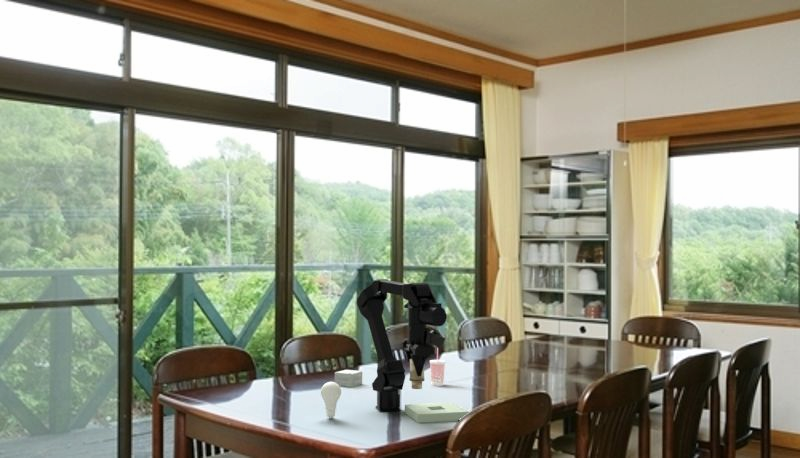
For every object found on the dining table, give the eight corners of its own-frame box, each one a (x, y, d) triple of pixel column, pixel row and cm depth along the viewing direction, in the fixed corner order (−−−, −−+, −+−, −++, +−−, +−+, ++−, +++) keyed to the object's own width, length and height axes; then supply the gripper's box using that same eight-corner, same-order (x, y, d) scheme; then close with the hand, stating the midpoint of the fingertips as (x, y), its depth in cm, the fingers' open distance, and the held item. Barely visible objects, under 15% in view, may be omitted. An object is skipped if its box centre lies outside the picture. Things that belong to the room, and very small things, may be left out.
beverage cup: (444, 386, 280) (444, 348, 281) (428, 385, 282) (428, 348, 282) (446, 383, 286) (446, 346, 287) (430, 382, 288) (430, 346, 288)
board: (418, 422, 221) (418, 414, 221) (404, 412, 235) (404, 404, 235) (468, 419, 226) (468, 411, 226) (452, 410, 239) (452, 402, 239)
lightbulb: (317, 419, 224) (317, 382, 225) (326, 415, 230) (326, 379, 230) (335, 421, 222) (335, 384, 222) (344, 417, 228) (344, 380, 228)
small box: (345, 382, 287) (345, 369, 288) (362, 384, 284) (362, 371, 284) (333, 385, 281) (334, 372, 281) (351, 387, 277) (351, 373, 277)
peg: (411, 389, 225) (411, 360, 225) (407, 387, 230) (407, 358, 230) (426, 389, 226) (426, 360, 227) (422, 386, 231) (422, 357, 231)
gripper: (452, 326, 221) (451, 379, 221) (434, 320, 239) (433, 369, 239) (415, 326, 219) (415, 380, 218) (400, 320, 237) (400, 370, 236)
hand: (417, 374), depth 228 cm, fingers closed on peg, 4 cm apart
